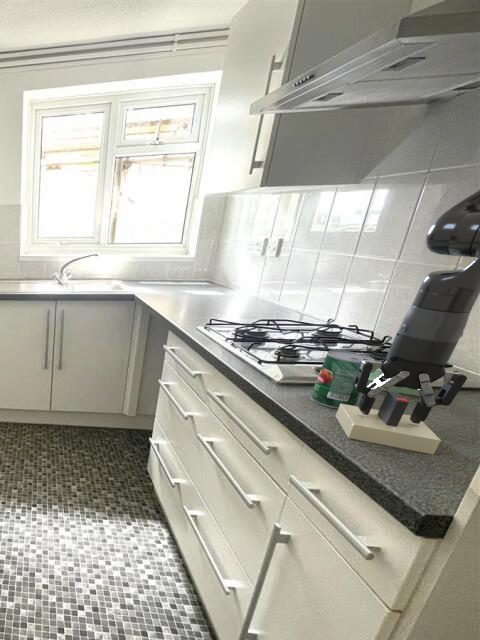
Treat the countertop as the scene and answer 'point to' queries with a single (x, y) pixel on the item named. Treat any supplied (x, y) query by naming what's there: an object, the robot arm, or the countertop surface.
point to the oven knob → (392, 408)
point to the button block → (392, 389)
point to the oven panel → (386, 430)
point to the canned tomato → (338, 379)
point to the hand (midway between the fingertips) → (388, 417)
